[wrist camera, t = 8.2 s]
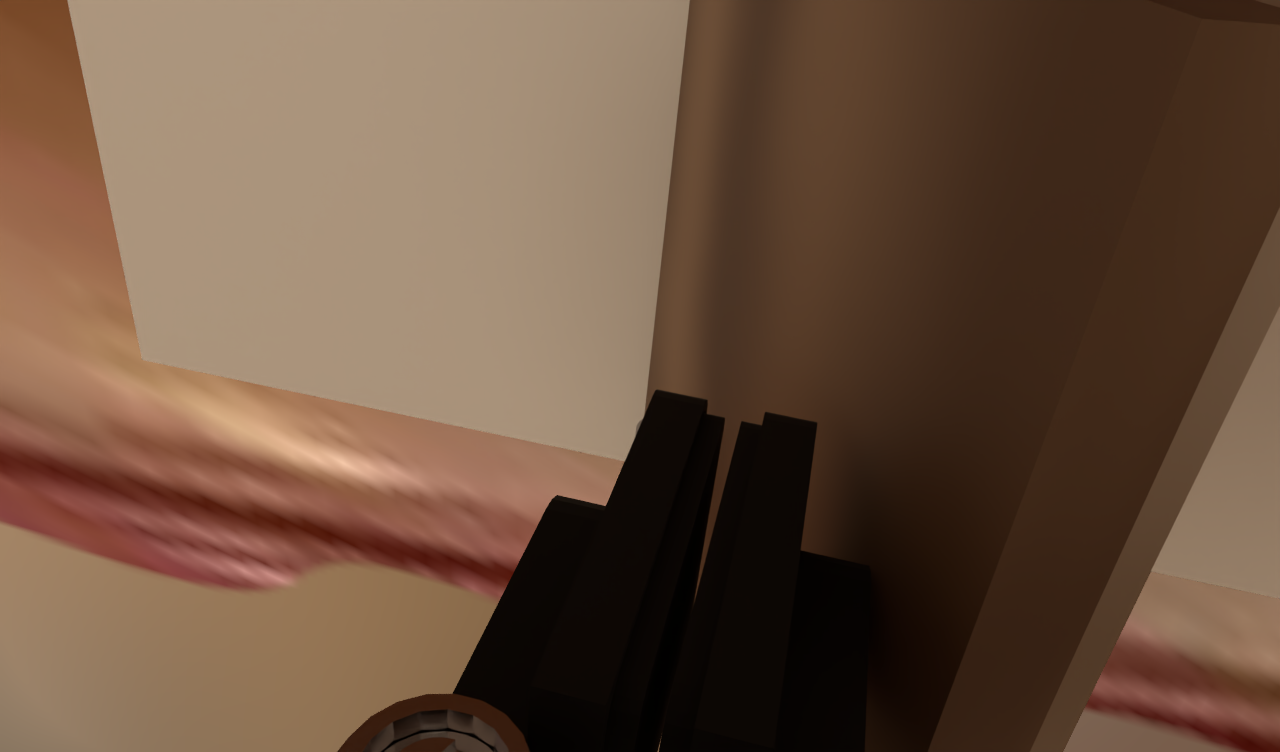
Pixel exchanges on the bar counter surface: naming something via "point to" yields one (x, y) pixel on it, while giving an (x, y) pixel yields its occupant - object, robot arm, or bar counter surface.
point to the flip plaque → (977, 310)
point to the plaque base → (461, 221)
